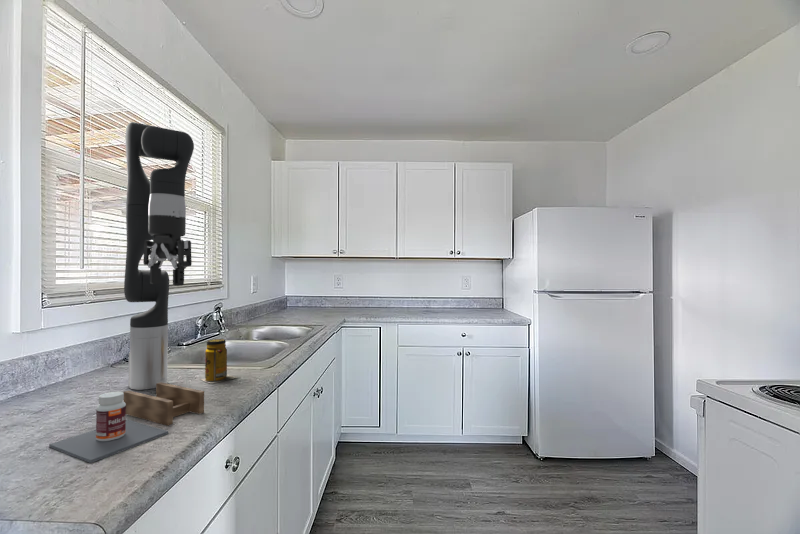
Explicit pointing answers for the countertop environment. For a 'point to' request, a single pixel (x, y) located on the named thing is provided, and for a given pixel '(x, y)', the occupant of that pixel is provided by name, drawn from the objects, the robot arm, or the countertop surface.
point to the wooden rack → (164, 403)
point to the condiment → (216, 362)
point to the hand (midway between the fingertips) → (166, 284)
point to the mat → (107, 442)
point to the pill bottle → (110, 416)
